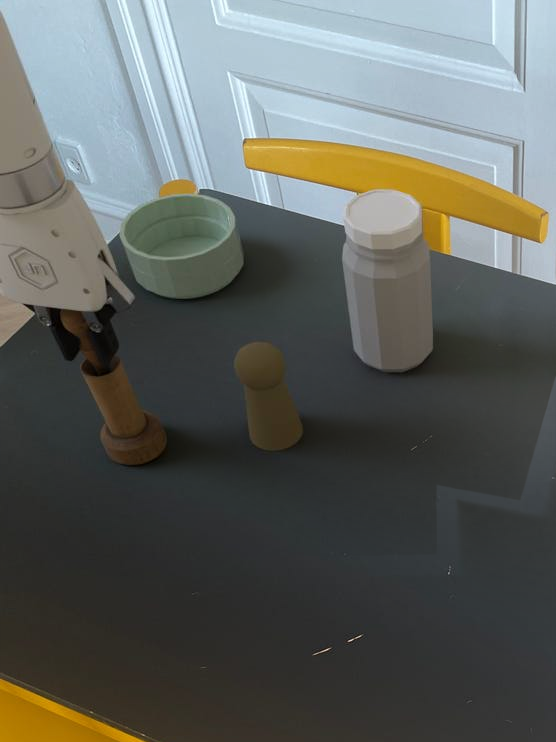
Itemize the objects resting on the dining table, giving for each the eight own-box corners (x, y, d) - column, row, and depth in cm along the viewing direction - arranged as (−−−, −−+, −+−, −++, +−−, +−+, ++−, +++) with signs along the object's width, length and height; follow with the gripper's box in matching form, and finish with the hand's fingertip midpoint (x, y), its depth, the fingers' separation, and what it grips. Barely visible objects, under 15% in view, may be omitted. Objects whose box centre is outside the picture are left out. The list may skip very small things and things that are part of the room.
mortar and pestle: (174, 426, 100) (116, 285, 85) (157, 467, 97) (94, 329, 82) (118, 423, 101) (50, 282, 86) (99, 464, 97) (25, 325, 82)
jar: (422, 383, 105) (414, 243, 90) (343, 370, 106) (322, 229, 91) (443, 331, 110) (439, 191, 95) (367, 319, 111) (352, 178, 96)
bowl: (117, 295, 113) (101, 252, 108) (158, 231, 121) (145, 188, 116) (224, 308, 112) (212, 265, 107) (258, 242, 120) (249, 200, 115)
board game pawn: (305, 412, 102) (288, 332, 93) (300, 450, 99) (283, 371, 89) (252, 413, 102) (230, 333, 93) (246, 451, 98) (223, 372, 89)
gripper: (-103, 187, 72) (-2, 368, 87) (89, 209, 70) (157, 390, 86) (-56, 138, 76) (32, 320, 91) (125, 158, 74) (184, 340, 90)
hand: (92, 352), depth 88 cm, fingers closed on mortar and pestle, 3 cm apart
